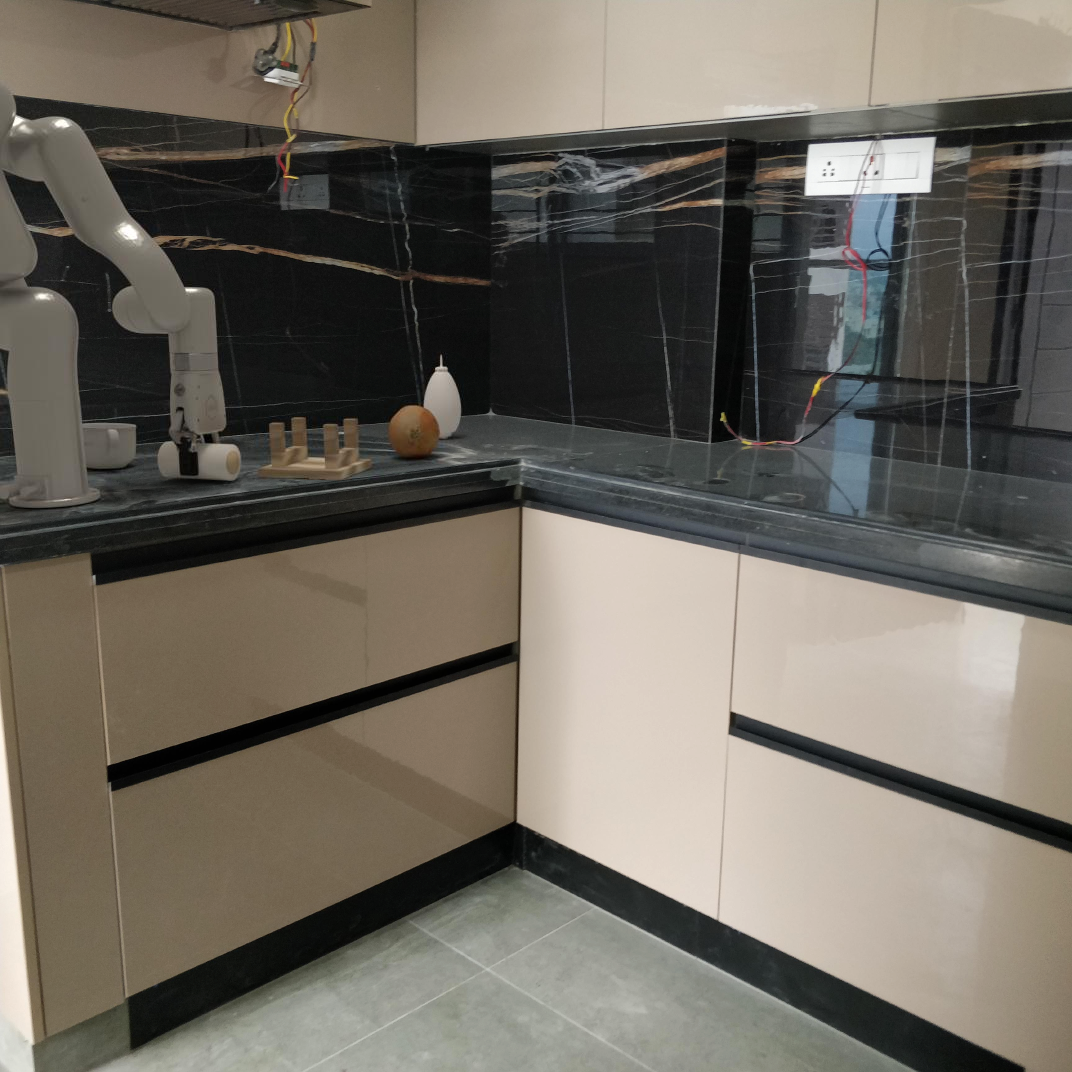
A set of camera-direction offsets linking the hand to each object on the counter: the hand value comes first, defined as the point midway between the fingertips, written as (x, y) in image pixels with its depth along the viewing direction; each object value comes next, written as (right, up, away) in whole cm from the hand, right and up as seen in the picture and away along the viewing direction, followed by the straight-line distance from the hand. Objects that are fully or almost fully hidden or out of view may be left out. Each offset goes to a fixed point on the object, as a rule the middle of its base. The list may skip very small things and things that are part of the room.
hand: (200, 471), depth 179 cm
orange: (+33, +4, +25) cm, 42 cm away
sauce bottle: (+36, +10, +54) cm, 65 cm away
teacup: (-21, +1, +14) cm, 25 cm away
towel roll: (0, +2, 0) cm, 2 cm away
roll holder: (+18, 0, +9) cm, 20 cm away
